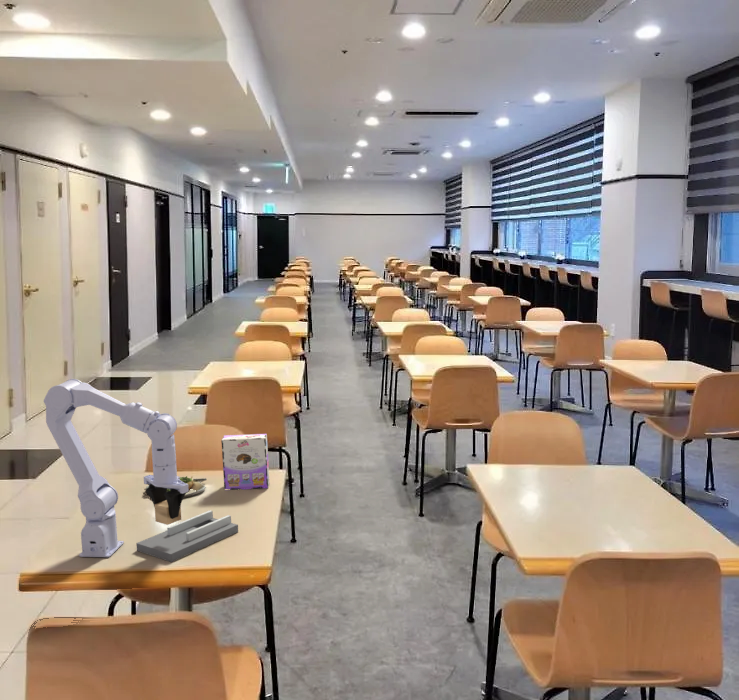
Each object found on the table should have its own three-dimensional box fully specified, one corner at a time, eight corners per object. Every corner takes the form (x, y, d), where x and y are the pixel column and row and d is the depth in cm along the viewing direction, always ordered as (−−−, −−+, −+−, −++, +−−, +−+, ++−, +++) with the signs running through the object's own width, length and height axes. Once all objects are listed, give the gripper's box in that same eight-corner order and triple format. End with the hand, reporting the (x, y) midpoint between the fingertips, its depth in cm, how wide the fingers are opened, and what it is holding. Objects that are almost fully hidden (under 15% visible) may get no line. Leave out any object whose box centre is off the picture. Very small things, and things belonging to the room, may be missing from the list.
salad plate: (196, 478, 261) (195, 464, 261) (220, 491, 247) (219, 477, 246) (138, 490, 250) (137, 476, 249) (160, 505, 236) (159, 490, 235)
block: (169, 516, 204) (168, 499, 204) (181, 519, 202) (180, 502, 201) (155, 521, 201) (154, 504, 200) (167, 524, 198) (166, 507, 197)
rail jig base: (204, 522, 220) (203, 508, 219) (238, 531, 213) (237, 517, 212) (136, 550, 202) (135, 535, 201) (171, 561, 194) (170, 546, 194)
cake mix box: (269, 483, 253) (267, 432, 251) (268, 489, 247) (265, 437, 245) (226, 484, 253) (223, 434, 250) (223, 490, 247) (220, 439, 244)
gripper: (196, 463, 198) (199, 516, 200) (157, 455, 206) (161, 505, 208) (174, 471, 192) (177, 524, 194) (135, 462, 200) (139, 513, 202)
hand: (167, 515), depth 201 cm, fingers closed on block, 4 cm apart
